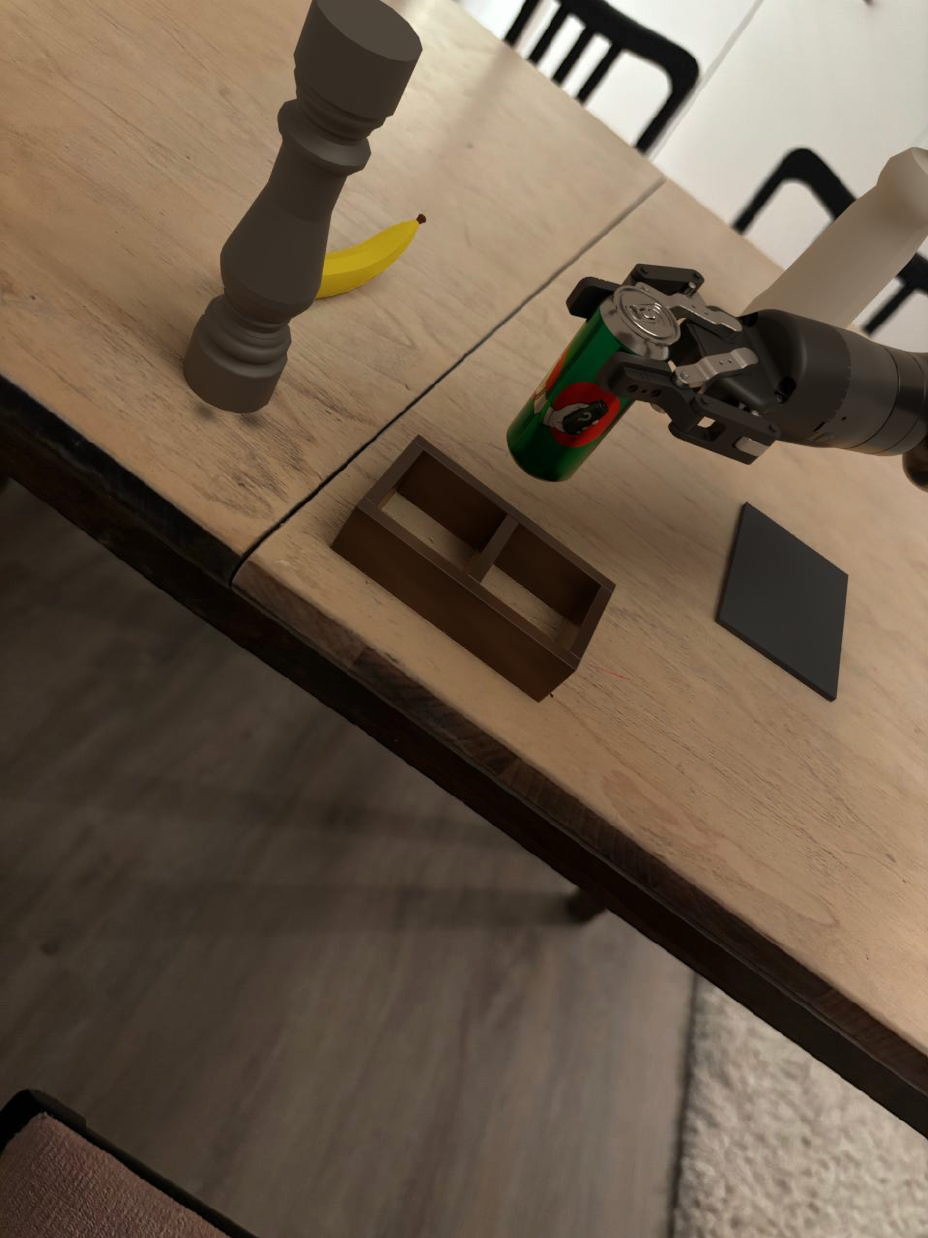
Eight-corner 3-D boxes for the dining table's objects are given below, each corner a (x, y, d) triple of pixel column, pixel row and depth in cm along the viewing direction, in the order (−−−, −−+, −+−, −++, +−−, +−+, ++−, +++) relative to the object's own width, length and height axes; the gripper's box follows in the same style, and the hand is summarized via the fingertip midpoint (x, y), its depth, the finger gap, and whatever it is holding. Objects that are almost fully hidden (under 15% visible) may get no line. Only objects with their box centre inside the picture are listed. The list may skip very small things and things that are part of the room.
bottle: (794, 402, 101) (1049, 161, 80) (743, 404, 96) (1001, 146, 74) (750, 339, 104) (984, 89, 83) (698, 337, 99) (933, 69, 77)
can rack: (581, 618, 68) (617, 584, 65) (539, 703, 62) (576, 670, 59) (391, 474, 67) (418, 433, 64) (329, 547, 61) (355, 505, 58)
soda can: (583, 486, 60) (701, 350, 52) (522, 489, 58) (636, 345, 49) (550, 425, 62) (659, 283, 54) (489, 425, 59) (593, 275, 51)
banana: (194, 298, 67) (218, 225, 62) (382, 264, 80) (414, 201, 75) (217, 328, 66) (244, 257, 62) (403, 289, 79) (436, 227, 74)
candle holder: (236, 335, 67) (373, -19, 49) (290, 399, 66) (450, 63, 48) (163, 354, 63) (283, -25, 44) (220, 423, 62) (365, 65, 44)
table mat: (831, 702, 77) (836, 699, 77) (714, 621, 75) (719, 617, 75) (844, 578, 88) (848, 574, 87) (742, 504, 86) (746, 500, 86)
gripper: (800, 259, 60) (588, 187, 52) (900, 430, 54) (675, 381, 45) (724, 344, 66) (520, 292, 57) (806, 510, 59) (589, 479, 51)
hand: (590, 331), depth 51 cm, fingers closed on soda can, 5 cm apart
